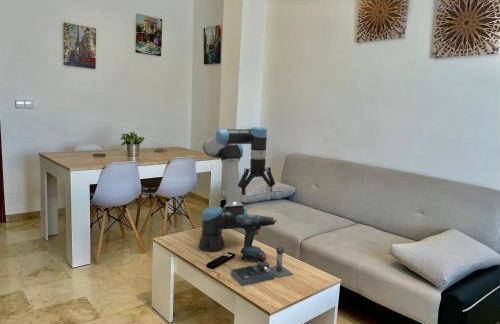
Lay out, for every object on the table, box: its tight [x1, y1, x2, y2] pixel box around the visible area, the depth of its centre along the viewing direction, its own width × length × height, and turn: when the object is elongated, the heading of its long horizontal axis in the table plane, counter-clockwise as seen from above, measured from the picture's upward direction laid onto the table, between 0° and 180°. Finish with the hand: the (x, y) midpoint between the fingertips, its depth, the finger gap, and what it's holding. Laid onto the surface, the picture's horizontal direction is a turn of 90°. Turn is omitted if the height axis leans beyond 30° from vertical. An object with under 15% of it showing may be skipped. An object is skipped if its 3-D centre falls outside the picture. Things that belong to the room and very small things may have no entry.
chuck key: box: [275, 246, 285, 272], centre depth 196 cm, size 4×6×12 cm, turn 0°
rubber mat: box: [269, 265, 294, 279], centre depth 197 cm, size 12×9×1 cm
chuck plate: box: [230, 261, 276, 287], centre depth 189 cm, size 12×18×6 cm, turn 119°
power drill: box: [235, 214, 278, 263], centre depth 210 cm, size 9×23×25 cm, turn 78°
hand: (256, 200), depth 193 cm, fingers open, 13 cm apart
